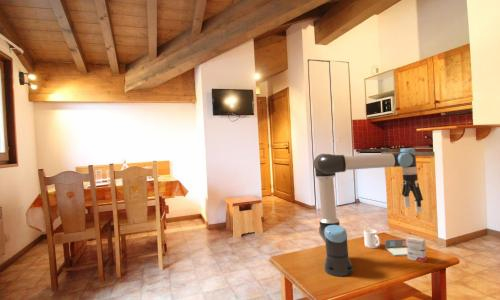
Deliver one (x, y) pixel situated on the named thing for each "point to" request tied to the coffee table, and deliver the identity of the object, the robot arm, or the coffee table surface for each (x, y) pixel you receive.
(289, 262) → the coffee table surface
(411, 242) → the ink box
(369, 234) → the mug
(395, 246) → the laptop
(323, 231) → the robot arm
